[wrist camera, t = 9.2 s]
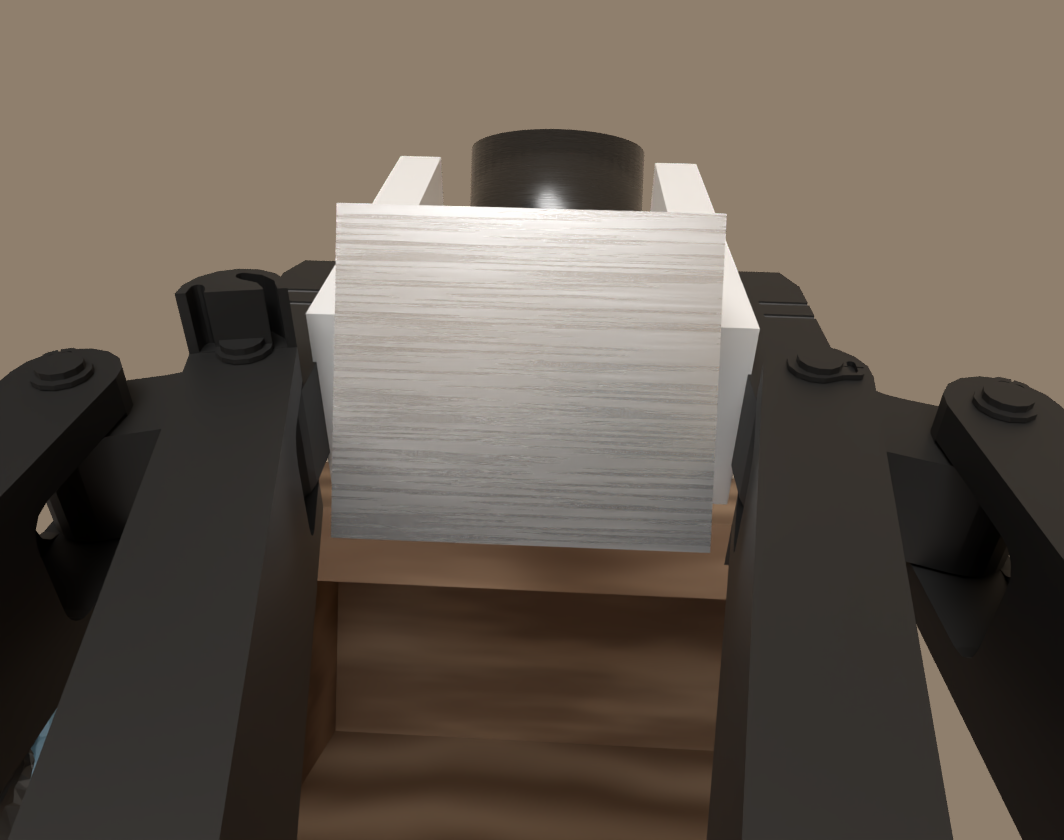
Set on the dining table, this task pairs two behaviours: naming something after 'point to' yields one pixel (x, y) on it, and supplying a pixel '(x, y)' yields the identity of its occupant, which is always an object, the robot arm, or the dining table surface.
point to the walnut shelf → (512, 690)
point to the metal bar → (529, 357)
